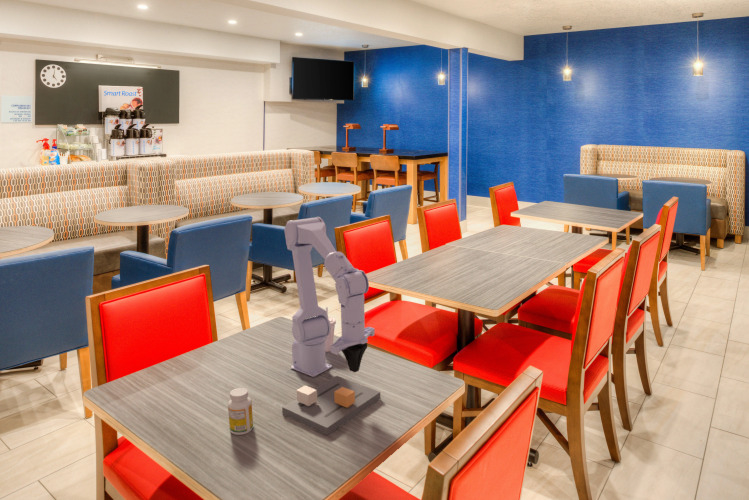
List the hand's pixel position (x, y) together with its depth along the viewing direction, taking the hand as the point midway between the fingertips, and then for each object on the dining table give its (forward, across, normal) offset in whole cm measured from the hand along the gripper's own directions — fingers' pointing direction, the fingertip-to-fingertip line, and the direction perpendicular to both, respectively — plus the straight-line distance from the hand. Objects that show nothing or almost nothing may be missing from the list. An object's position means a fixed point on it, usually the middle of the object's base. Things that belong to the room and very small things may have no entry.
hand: (354, 370), depth 132 cm
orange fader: (+6, -5, -1) cm, 8 cm away
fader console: (+9, -5, +3) cm, 11 cm away
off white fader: (+6, -10, +7) cm, 14 cm away
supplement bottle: (+9, -25, +13) cm, 30 cm away
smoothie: (+9, +18, +28) cm, 34 cm away
